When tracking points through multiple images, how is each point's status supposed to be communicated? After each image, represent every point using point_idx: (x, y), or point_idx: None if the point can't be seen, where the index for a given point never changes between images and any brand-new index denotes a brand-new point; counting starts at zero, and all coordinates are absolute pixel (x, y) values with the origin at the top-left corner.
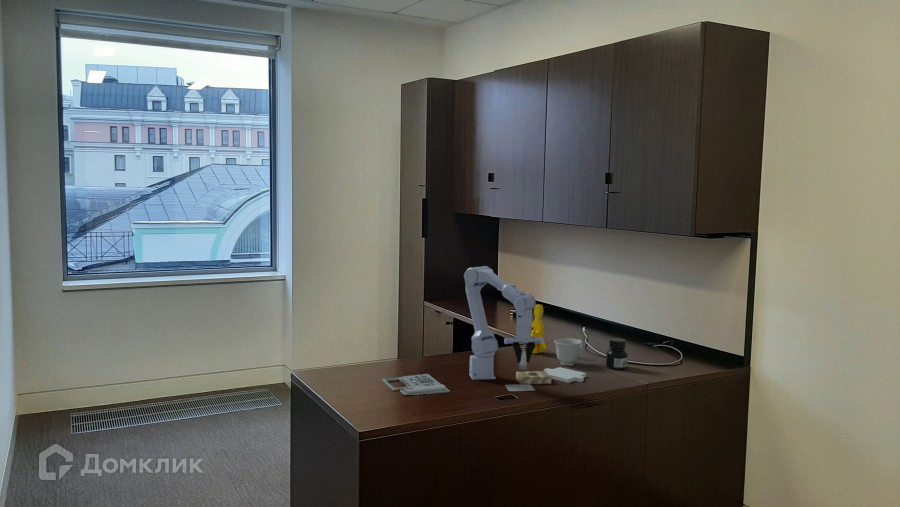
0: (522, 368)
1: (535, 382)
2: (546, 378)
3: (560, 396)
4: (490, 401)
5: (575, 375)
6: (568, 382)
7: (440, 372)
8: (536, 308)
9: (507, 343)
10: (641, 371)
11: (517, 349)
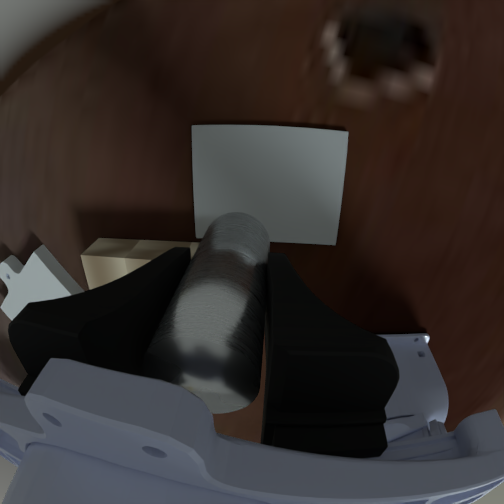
0: (247, 218)
1: (164, 246)
2: (105, 251)
3: (95, 42)
4: (467, 20)
5: (18, 292)
6: (40, 248)
7: (461, 396)
8: None
9: (472, 421)
10: None
11: (327, 323)
